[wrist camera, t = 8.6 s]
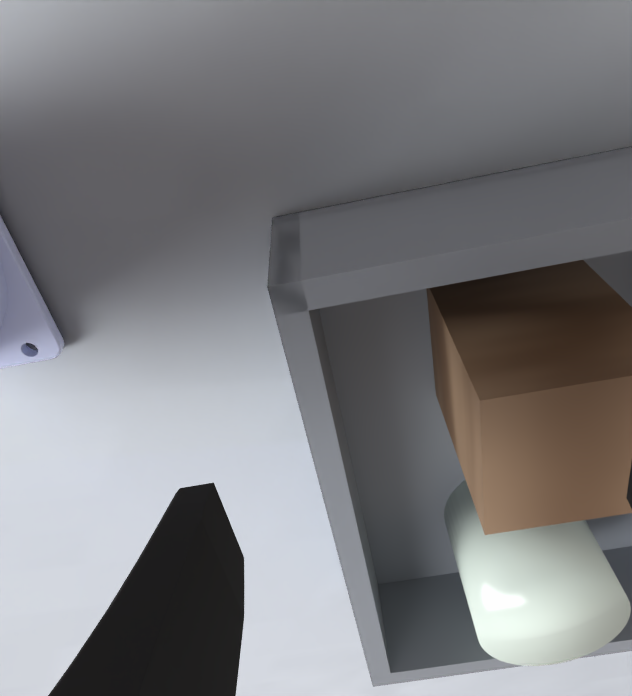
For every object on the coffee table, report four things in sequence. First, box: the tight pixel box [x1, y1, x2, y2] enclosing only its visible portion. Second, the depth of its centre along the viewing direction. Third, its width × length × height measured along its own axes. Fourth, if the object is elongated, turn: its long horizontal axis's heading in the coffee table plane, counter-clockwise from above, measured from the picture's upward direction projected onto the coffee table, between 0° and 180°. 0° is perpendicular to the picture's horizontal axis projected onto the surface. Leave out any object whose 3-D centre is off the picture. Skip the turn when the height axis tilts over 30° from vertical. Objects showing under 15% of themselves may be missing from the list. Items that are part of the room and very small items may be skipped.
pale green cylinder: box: [444, 480, 631, 666], centre depth 21 cm, size 5×5×5 cm
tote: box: [267, 147, 632, 687], centre depth 20 cm, size 13×18×4 cm
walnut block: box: [427, 260, 632, 535], centre depth 16 cm, size 4×4×6 cm
